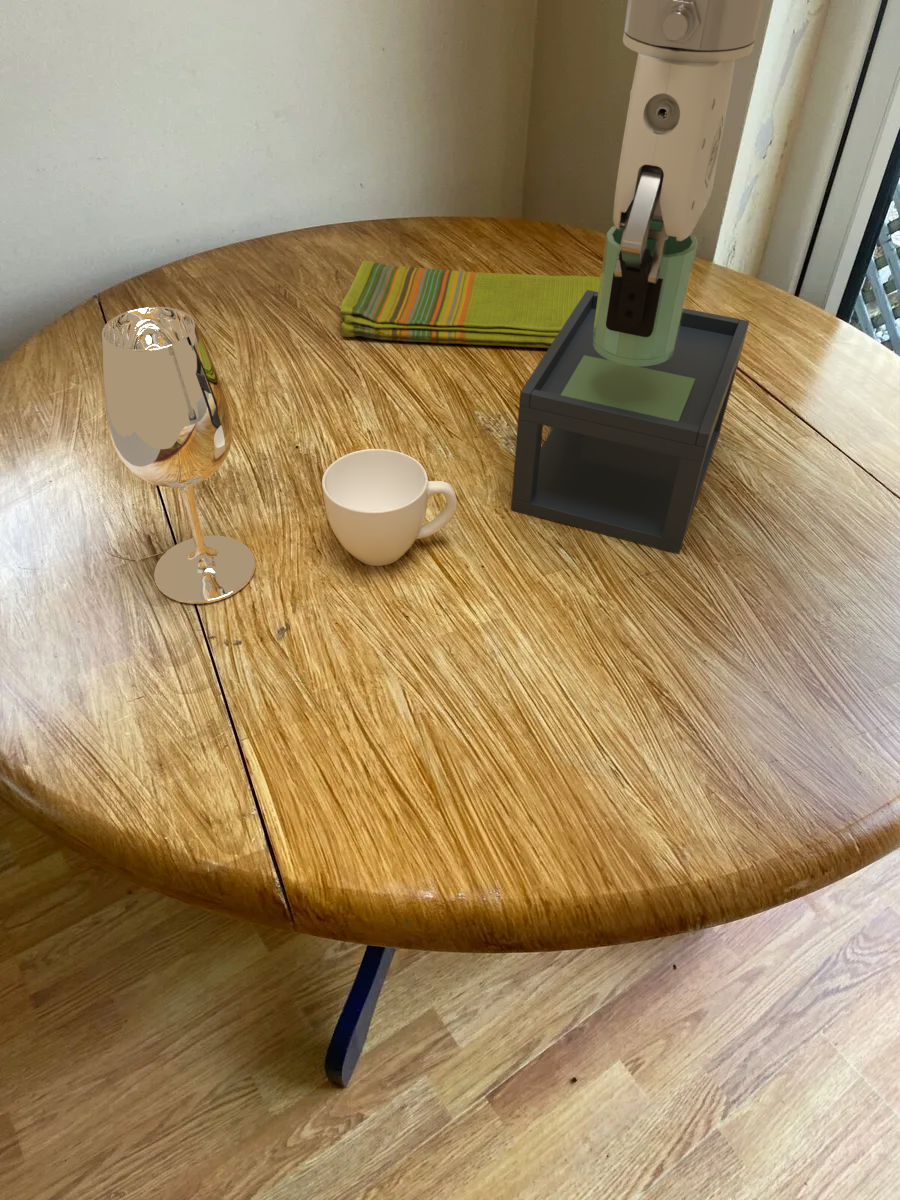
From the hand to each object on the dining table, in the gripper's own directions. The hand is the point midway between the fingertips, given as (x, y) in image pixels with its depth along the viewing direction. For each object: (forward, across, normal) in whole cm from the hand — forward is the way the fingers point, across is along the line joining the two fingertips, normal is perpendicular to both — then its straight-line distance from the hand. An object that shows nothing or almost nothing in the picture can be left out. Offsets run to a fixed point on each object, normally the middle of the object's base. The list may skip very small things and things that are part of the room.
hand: (640, 307), depth 64 cm
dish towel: (+17, +27, +18) cm, 37 cm away
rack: (+17, +4, 0) cm, 17 cm away
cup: (+17, -13, +14) cm, 26 cm away
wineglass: (+17, -21, +26) cm, 38 cm away
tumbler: (+3, 0, 0) cm, 3 cm away
